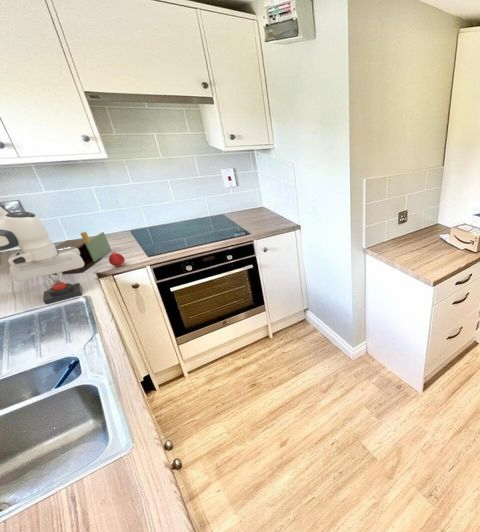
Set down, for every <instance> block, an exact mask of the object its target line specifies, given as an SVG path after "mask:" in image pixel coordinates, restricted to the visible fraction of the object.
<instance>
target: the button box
mask: <svg viewBox="0 0 480 532" xmlns="http://www.w3.org/2000/svg"><path fill="white" fill-rule="evenodd" d="M64 283H65V284H66V286H67V287H66V288H64V289H61V290H55V291H54V290H53V288H52V286H51V287H50V288H48V290H44V291H43V296H42V297H43V298H42V301H43V303H44V305H45V306H46V304H47V305H51V304H55V303H58V302H62V301H66V300H69V299H73V298H76V297H81V296H83V288H82V285H81V283H80V282H77V283H73V284H72V283H68V282H64Z"/></svg>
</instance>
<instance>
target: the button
mask: <svg viewBox="0 0 480 532" xmlns="http://www.w3.org/2000/svg"><path fill="white" fill-rule="evenodd" d="M65 283H66V282H61V283H56V284H52V285H51V287H52V288H53V290H54V291H55V290H61V289H64V288H66V287H67V286H66V284H65Z"/></svg>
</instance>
